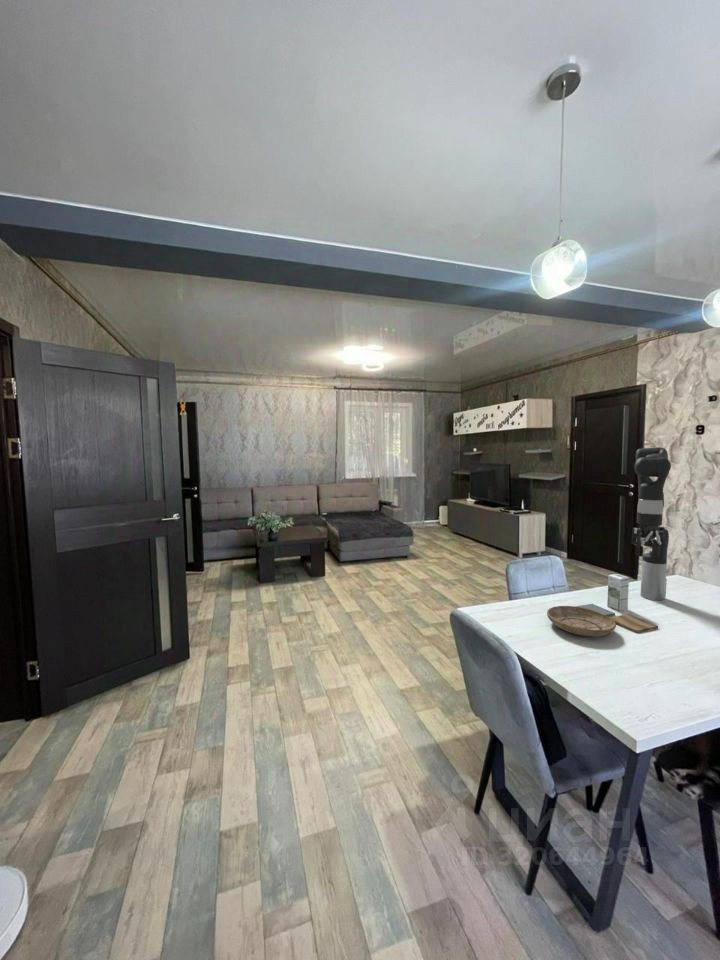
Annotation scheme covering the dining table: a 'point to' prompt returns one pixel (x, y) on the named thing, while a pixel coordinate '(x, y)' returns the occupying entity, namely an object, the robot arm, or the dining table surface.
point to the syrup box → (618, 592)
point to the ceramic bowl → (581, 620)
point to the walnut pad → (633, 623)
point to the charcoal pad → (597, 609)
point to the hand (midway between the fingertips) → (647, 555)
